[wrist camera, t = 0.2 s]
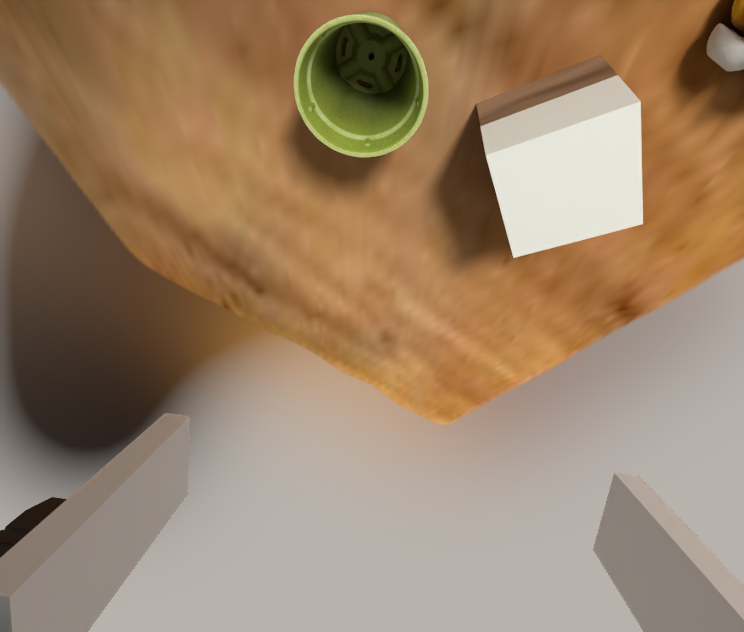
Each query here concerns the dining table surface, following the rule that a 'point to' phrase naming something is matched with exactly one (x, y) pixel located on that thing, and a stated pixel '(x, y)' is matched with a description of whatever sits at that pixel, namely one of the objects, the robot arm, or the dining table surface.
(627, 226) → the pale top block
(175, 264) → the dining table surface
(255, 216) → the dining table surface
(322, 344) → the dining table surface
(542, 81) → the walnut base block
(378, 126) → the plant pot
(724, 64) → the rainbow petal cluster
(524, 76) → the dining table surface
